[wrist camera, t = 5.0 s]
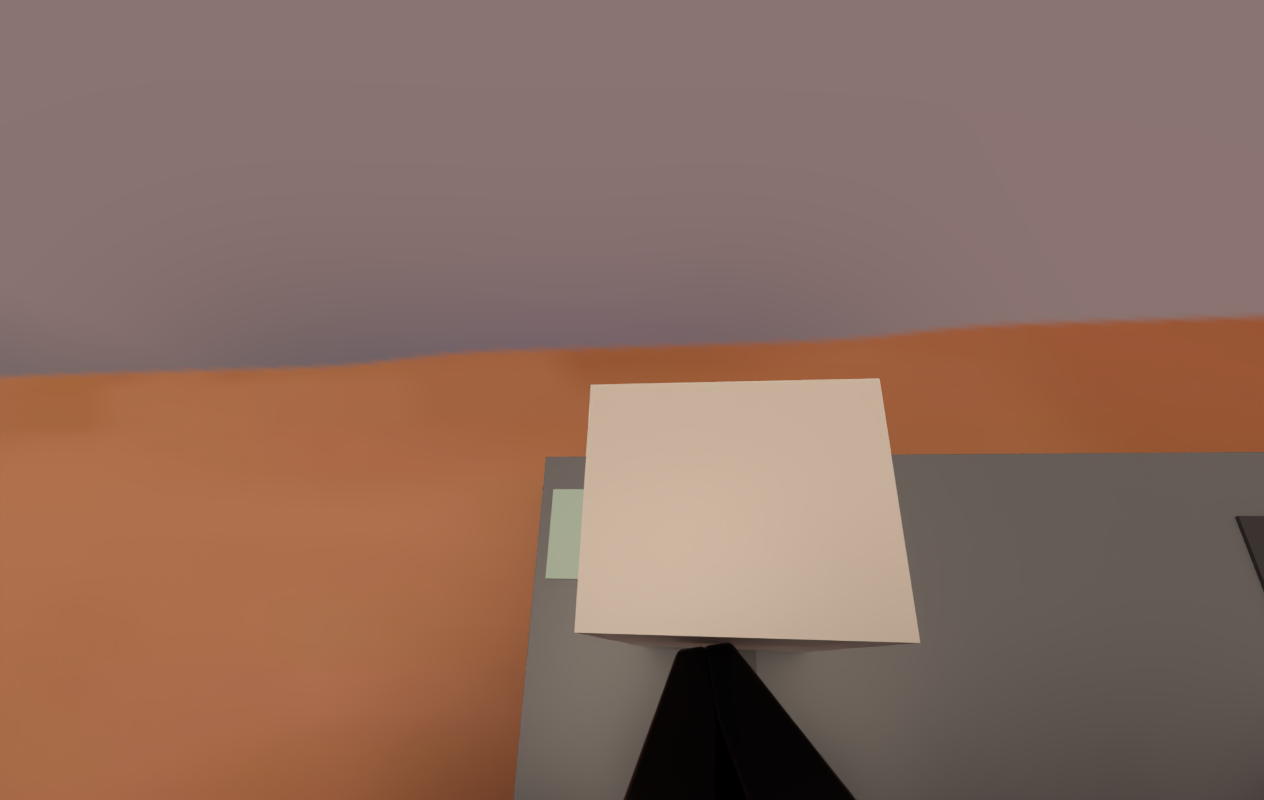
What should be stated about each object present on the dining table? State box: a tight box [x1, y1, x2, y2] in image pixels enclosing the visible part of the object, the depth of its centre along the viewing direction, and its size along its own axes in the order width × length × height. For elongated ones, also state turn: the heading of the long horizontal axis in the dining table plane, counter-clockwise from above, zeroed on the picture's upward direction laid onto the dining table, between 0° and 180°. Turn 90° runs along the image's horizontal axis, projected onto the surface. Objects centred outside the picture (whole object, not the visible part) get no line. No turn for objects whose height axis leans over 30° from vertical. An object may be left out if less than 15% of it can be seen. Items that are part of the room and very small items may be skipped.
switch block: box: [513, 452, 1264, 800], centre depth 13 cm, size 11×21×2 cm, turn 88°
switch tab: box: [574, 378, 920, 652], centre depth 10 cm, size 3×4×7 cm
